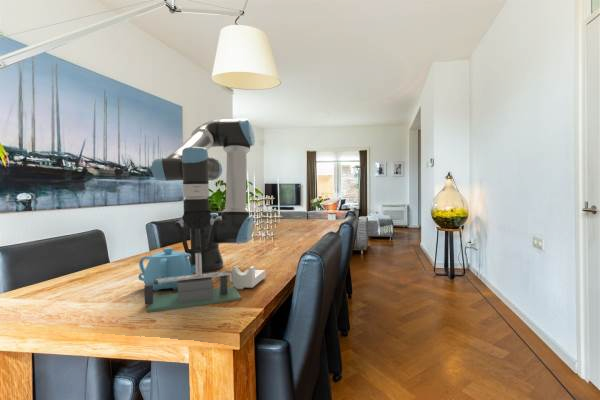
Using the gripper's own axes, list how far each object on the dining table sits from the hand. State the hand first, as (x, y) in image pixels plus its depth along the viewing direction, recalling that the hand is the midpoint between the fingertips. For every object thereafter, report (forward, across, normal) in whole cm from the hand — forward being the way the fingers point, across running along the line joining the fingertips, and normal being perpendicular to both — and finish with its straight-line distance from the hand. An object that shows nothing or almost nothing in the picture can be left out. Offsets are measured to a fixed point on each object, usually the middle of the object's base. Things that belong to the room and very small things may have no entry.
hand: (198, 274), depth 100 cm
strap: (+3, -1, 0) cm, 3 cm away
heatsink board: (+8, -1, 0) cm, 8 cm away
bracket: (+8, +18, +10) cm, 22 cm away
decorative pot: (+8, -9, +18) cm, 22 cm away
